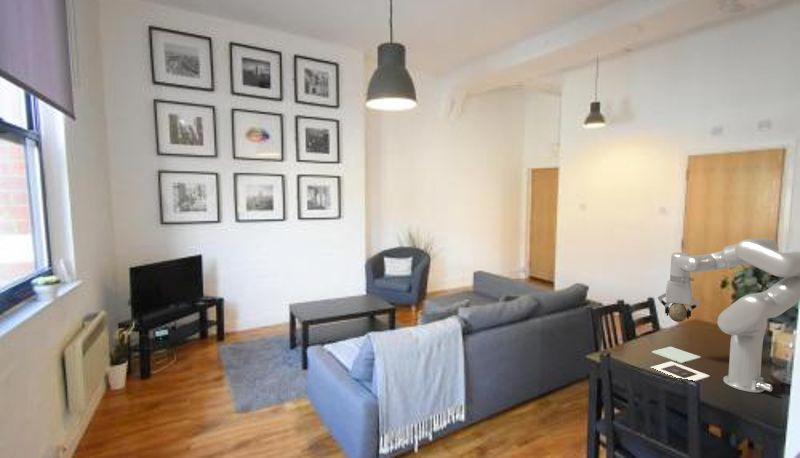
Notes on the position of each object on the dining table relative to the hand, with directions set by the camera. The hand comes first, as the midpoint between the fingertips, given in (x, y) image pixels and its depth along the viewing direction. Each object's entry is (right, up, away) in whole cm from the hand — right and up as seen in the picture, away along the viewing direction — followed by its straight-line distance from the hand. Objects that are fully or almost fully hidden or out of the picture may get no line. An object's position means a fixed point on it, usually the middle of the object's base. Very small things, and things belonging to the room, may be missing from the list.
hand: (677, 316), depth 183 cm
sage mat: (+2, -20, +5) cm, 20 cm away
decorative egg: (0, -3, 0) cm, 3 cm away
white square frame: (-8, -22, -13) cm, 26 cm away
